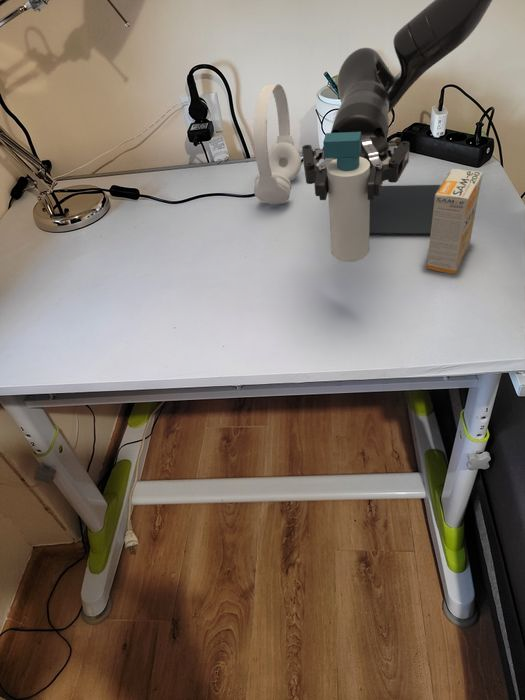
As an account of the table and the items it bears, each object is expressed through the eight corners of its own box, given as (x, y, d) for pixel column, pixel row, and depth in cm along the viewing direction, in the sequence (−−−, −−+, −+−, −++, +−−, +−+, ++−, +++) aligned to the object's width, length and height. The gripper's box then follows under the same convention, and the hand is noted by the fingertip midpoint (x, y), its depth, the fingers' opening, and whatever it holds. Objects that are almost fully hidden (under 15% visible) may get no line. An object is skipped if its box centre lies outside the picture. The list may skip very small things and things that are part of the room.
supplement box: (456, 276, 78) (469, 199, 69) (425, 269, 80) (433, 194, 71) (470, 246, 83) (484, 170, 73) (440, 240, 85) (450, 166, 75)
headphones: (252, 216, 98) (233, 111, 84) (273, 170, 110) (260, 71, 96) (288, 217, 96) (275, 109, 82) (305, 170, 108) (297, 68, 94)
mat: (446, 187, 96) (446, 184, 95) (447, 236, 85) (448, 233, 85) (360, 188, 100) (360, 186, 100) (351, 235, 89) (351, 232, 89)
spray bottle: (370, 239, 69) (372, 125, 58) (367, 262, 66) (368, 145, 55) (333, 239, 70) (327, 127, 59) (328, 261, 67) (321, 147, 56)
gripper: (306, 104, 69) (282, 164, 58) (416, 97, 66) (412, 160, 54) (310, 157, 75) (289, 221, 63) (412, 153, 71) (408, 221, 60)
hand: (346, 192), depth 59 cm, fingers closed on spray bottle, 5 cm apart
